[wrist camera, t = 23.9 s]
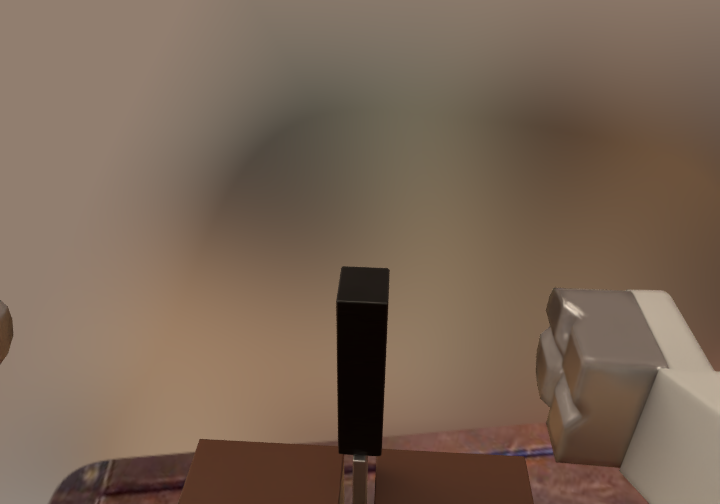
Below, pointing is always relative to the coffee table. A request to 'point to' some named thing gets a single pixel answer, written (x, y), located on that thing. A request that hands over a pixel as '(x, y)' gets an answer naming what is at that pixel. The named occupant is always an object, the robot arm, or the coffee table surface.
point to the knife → (361, 367)
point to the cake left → (264, 474)
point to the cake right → (450, 478)
